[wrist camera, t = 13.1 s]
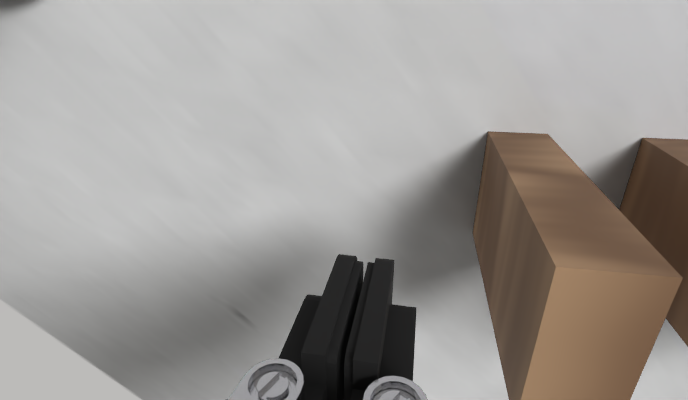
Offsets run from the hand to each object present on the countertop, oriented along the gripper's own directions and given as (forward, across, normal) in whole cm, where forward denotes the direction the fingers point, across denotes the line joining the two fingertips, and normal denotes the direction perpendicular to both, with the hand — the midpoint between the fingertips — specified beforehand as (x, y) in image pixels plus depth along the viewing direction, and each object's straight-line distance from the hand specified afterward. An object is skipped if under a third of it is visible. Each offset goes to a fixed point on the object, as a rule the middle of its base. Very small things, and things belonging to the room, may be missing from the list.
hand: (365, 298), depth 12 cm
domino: (+8, -5, -1) cm, 10 cm away
